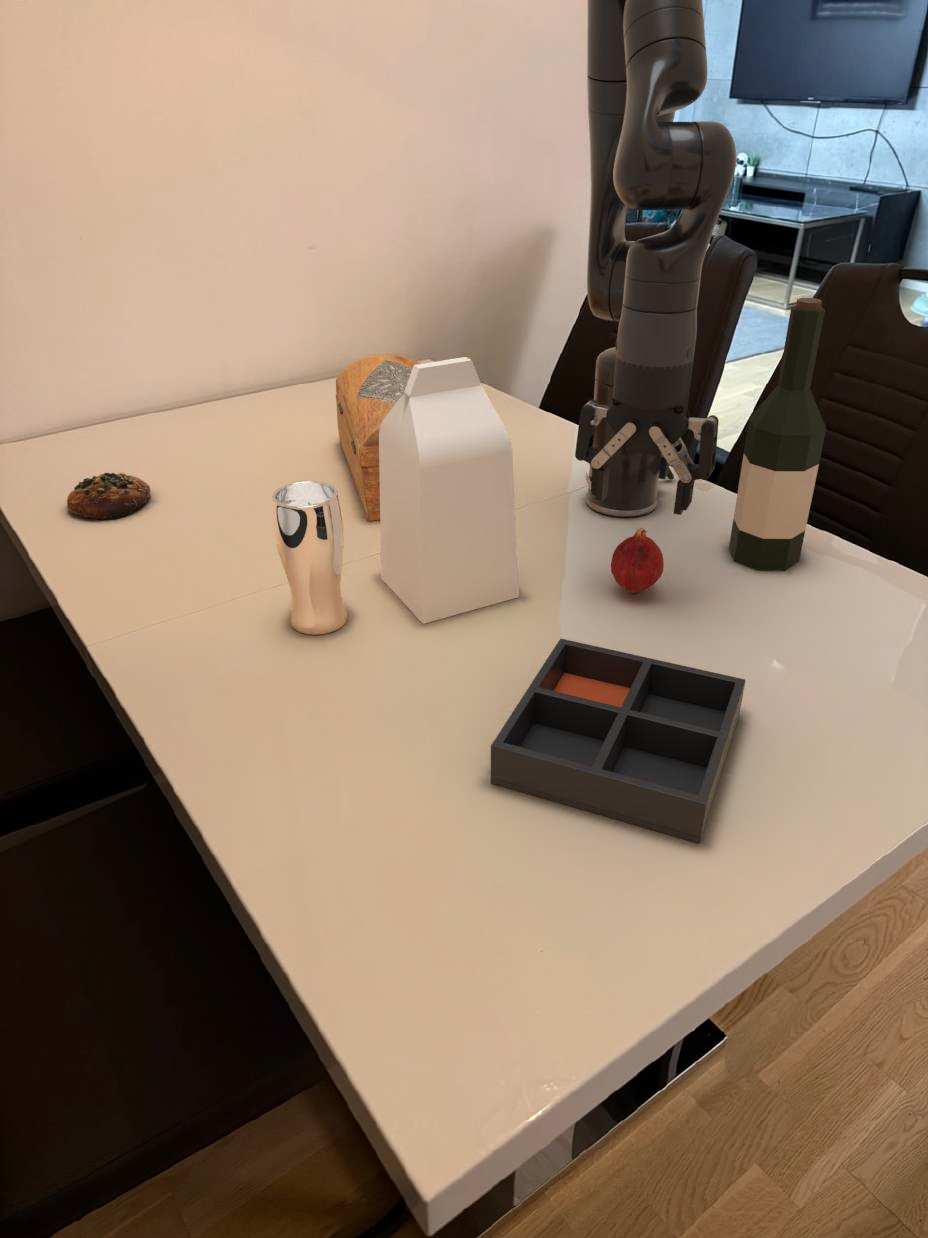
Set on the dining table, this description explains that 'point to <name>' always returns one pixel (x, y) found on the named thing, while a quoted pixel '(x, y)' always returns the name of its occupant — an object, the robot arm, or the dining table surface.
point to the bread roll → (108, 496)
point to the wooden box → (368, 418)
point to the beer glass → (311, 553)
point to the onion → (637, 562)
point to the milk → (447, 495)
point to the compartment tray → (621, 737)
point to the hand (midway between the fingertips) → (639, 505)
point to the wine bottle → (782, 454)
